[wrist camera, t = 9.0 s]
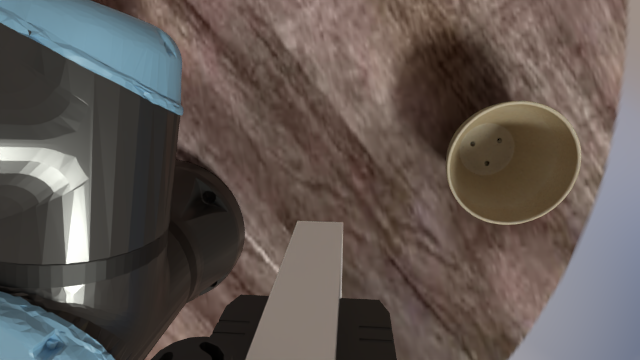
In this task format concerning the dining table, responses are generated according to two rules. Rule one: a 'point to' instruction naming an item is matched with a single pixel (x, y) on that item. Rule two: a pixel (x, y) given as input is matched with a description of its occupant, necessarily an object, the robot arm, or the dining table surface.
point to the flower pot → (513, 162)
